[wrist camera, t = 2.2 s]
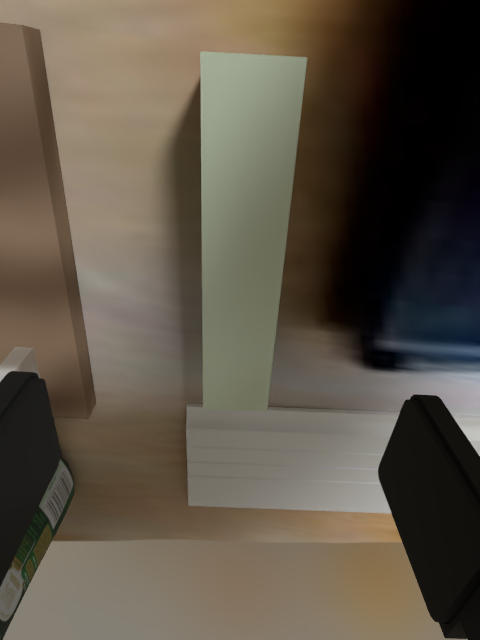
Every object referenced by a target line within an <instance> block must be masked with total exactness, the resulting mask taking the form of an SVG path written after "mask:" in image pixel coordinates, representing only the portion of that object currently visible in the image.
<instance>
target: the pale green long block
mask: <svg viewBox="0 0 480 640" xmlns="http://www.w3.org/2000/svg"><path fill="white" fill-rule="evenodd" d="M306 65H307V57H293V56H275V55H257V54H239V53H221V52H203V51H200V73H201V210H202V347H203V409H211V410H239V411H266V412H267V408H268V399H269V390H270V381H271V372H272V364H273V355H274V346H275V337H276V329H277V320H278V311H279V302H280V293H281V285H282V276H283V267H284V258H285V249H286V241H287V232H288V223H289V214H290V205H291V197H292V188H293V179H294V170H295V162H296V153H297V144H298V135H299V126H300V118H301V109H302V100H303V91H304V82H305V74H306Z"/></svg>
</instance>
